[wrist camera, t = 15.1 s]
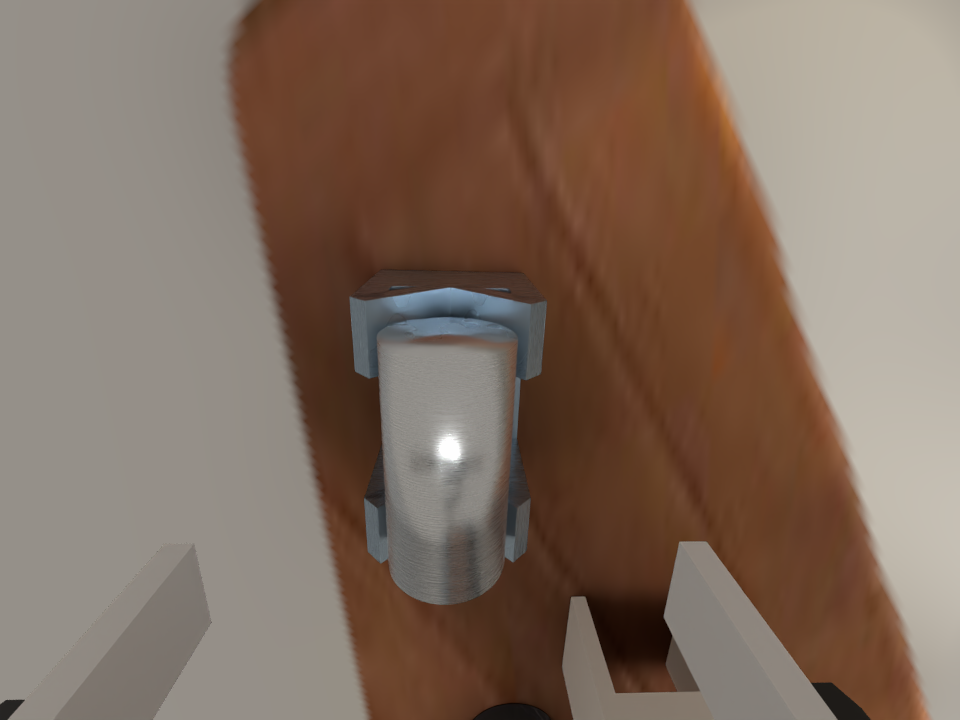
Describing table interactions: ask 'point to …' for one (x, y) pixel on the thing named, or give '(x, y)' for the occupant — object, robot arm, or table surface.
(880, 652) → the table surface
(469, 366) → the axle
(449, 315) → the v block
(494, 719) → the travel mug
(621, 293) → the table surface
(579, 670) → the u shaped block
